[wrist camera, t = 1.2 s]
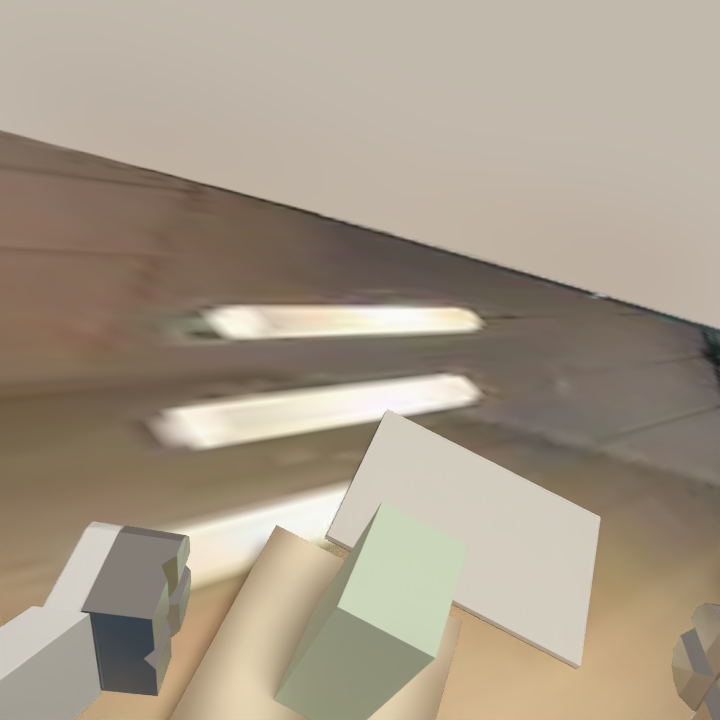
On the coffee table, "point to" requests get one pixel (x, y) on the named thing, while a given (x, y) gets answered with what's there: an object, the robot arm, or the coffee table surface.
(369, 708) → the sage green pillar
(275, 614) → the plate
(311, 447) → the coffee table surface
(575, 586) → the rubber mat
